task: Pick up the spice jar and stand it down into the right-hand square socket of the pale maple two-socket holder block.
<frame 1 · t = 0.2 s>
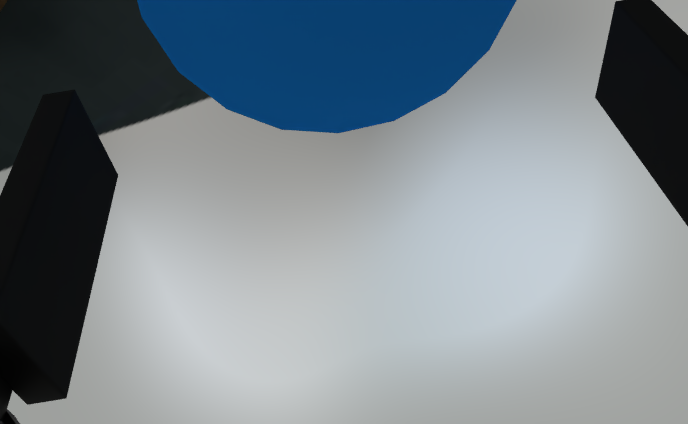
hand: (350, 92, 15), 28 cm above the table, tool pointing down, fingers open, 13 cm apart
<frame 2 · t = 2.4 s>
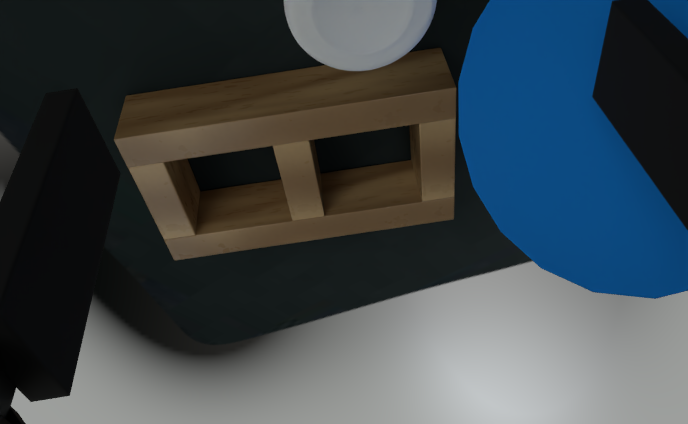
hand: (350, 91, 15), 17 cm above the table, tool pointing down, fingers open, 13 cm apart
holder: (297, 140, 38), on the table
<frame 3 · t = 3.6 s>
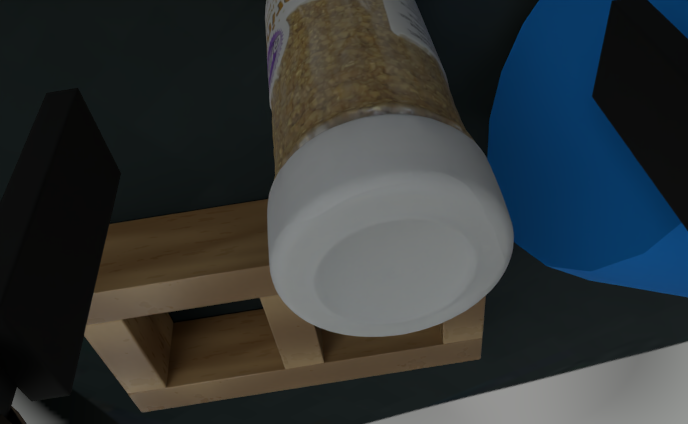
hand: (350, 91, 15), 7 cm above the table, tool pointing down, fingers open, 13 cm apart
holder: (290, 267, 31), on the table
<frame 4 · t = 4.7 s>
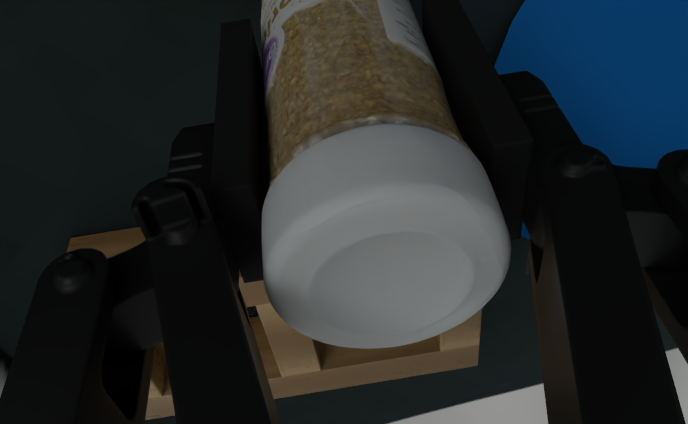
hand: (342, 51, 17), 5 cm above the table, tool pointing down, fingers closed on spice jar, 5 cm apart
holder: (286, 274, 31), on the table
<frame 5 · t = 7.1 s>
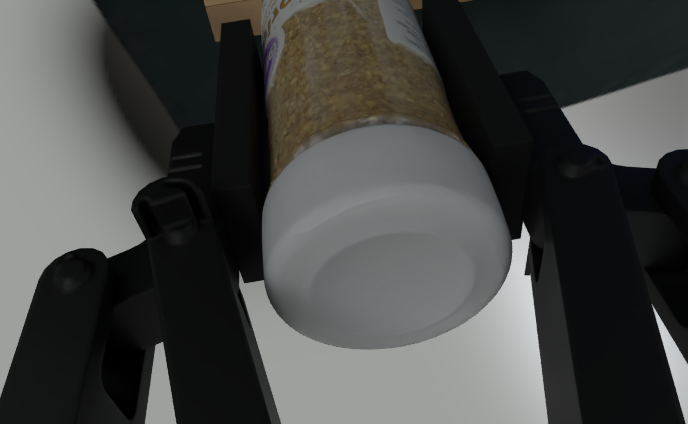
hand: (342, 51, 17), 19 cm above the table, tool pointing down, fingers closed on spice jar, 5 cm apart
when the fingers open (5 cm above the table, at t = 10.2 s): spice jar stays where it is, resting in holder.
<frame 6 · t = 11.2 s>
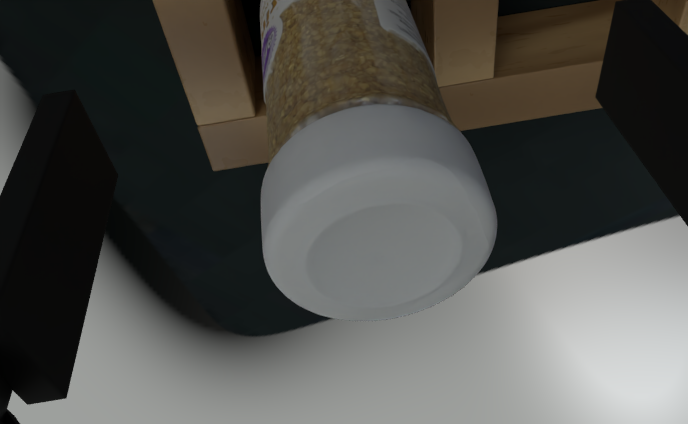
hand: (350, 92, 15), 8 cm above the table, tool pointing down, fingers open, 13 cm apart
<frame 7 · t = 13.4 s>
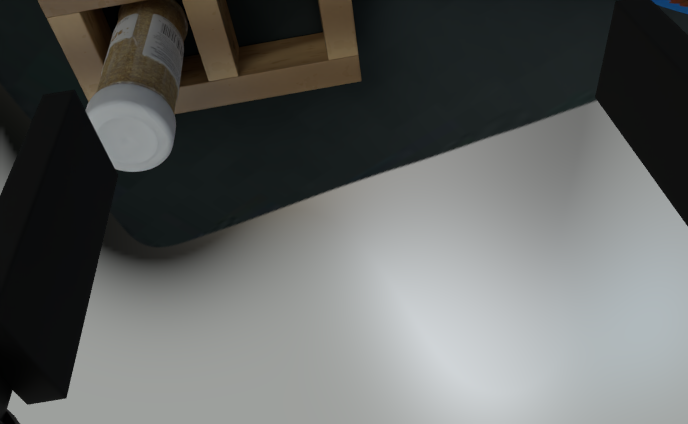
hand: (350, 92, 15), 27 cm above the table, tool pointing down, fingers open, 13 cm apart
spice jar: (154, 19, 41), resting in holder
holder: (213, 9, 41), on the table
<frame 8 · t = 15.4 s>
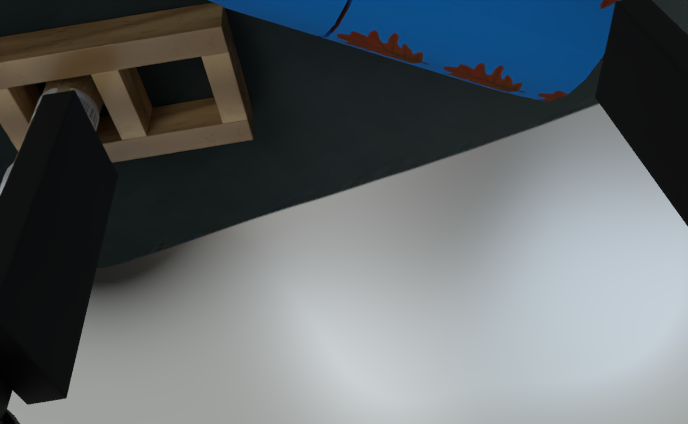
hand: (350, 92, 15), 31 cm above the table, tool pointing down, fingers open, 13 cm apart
thermos: (567, 30, 44), point 5 cm above the table
spice jar: (78, 85, 49), resting in holder
holder: (127, 78, 48), on the table
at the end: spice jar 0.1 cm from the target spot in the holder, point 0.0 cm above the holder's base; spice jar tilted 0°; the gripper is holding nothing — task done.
